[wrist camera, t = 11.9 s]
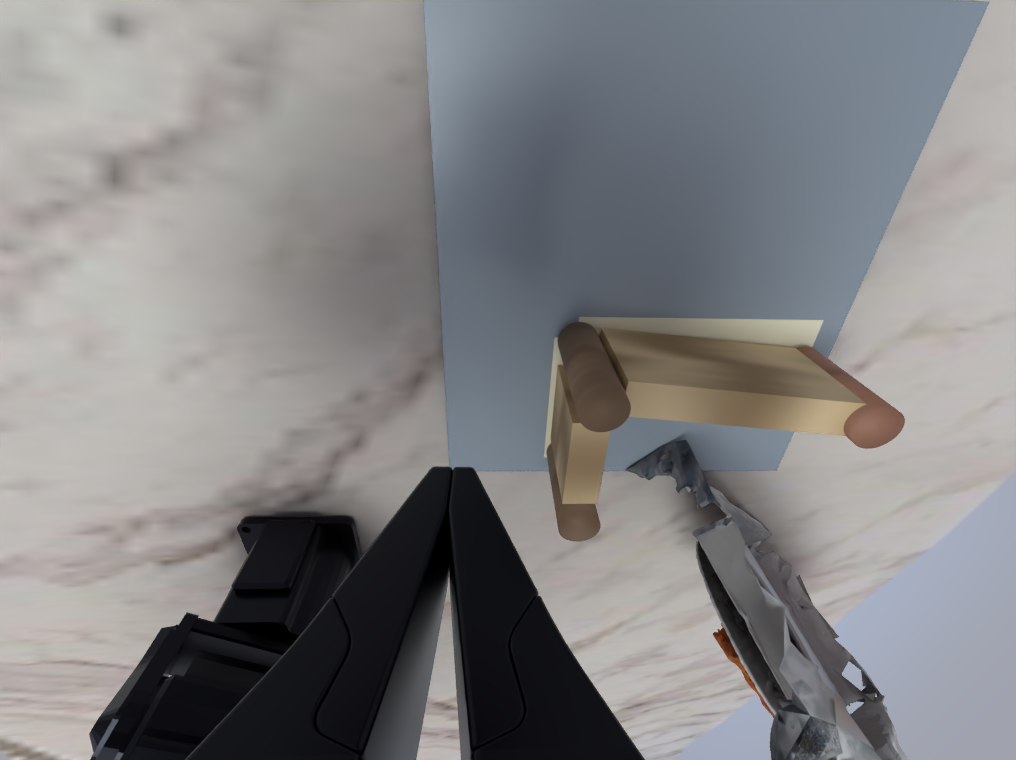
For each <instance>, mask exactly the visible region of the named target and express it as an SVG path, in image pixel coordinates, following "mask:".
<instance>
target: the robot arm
mask: <svg viewBox="0 0 1016 760" xmlns="http://www.w3.org/2000/svg"><path fill="white" fill-rule="evenodd" d="M237 530H238V532H239V535H240V537H241V539H242V542H243V544H244V546H245V549H246V551H247V554H248V556H247V558H246V560H245V562H244V563H243V565H242V567H241V569H240V571H239V573H238V574H237V576H236V578H235V580H234V582H233V583H232V588H231V590H230V592H229V594H228V596H227V598H226V599H225V601H224V603H223V605H222V607H221V609H220V610H219V612H218V614H217V616H216V618H215V620H214V621H213V622H212V621H208V620H204V619H201V618H198V615H195V614H191V613H186V615H185V616H184V618H183V619H182V621H181V622H180V624H179V625H176V626H172V627H166V628H162V629H161V630H160V632H159V633H158V635H157V636H156V638H155V640H154V641H153V643H152V644H151V646H150V647H149V649H148V651H147V652H146V654H145V655H144V657H143V658H142V660H141V661H140V663H139V664H138V666H137V667H136V669H135V670H134V671H133V673H132V674H131V675H130V677H129V678H128V679H127V681H126V682H125V683H124V685H123V686H122V688H121V689H120V690H119V692H118V693H117V694H116V696H115V697H114V698H113V700H112V701H111V702H110V704H109V705H108V706H107V708H106V709H105V710H104V712H103V713H102V714H101V716H100V717H99V719H98V720H97V722H96V723H95V725H94V727H93V728H92V730H91V732H90V734H89V735H90V739H91V744H92V748H93V752H94V754H93V755H92V757H91V759H90V760H416V757H417V751H418V746H419V740H420V735H421V729H422V724H423V718H424V713H425V707H426V702H427V696H428V691H429V685H430V680H431V674H432V669H433V663H434V657H435V652H436V646H437V641H438V635H439V630H440V624H441V619H442V613H443V608H444V602H445V597H446V591H447V585H448V578H449V575H450V598H451V613H452V628H453V643H454V659H455V674H456V689H457V704H458V720H459V735H460V750H461V760H645V759H644V757H643V756H642V755H641V753H640V752H639V750H638V749H637V748H636V746H635V745H634V743H633V742H632V740H631V739H630V738H629V736H628V735H627V733H626V732H625V730H624V729H623V727H622V726H621V724H620V723H619V721H618V720H617V719H616V717H615V716H614V714H613V713H612V711H611V710H610V708H609V707H608V705H607V704H606V702H605V701H604V700H603V698H602V697H601V695H600V694H599V692H598V691H597V689H596V688H595V686H594V685H593V683H592V682H591V681H590V679H589V678H588V676H587V675H586V673H585V672H584V670H583V669H582V667H581V666H580V664H579V662H578V661H577V659H576V658H575V656H574V655H573V653H572V652H571V650H570V648H569V647H568V645H567V644H566V642H565V641H564V639H563V637H562V635H561V634H560V632H559V630H558V628H557V626H556V625H555V623H554V621H553V619H552V617H551V616H550V614H549V612H548V610H547V608H546V606H545V604H544V602H543V600H542V598H541V597H540V596H538V591H537V589H536V587H535V585H534V583H533V581H532V580H531V578H530V576H529V574H528V572H527V570H526V568H525V566H524V564H523V562H522V560H521V558H520V556H519V554H518V553H517V551H516V549H515V547H514V545H513V543H512V541H511V539H510V537H509V535H508V533H507V531H506V529H505V527H504V525H503V524H502V522H501V520H500V518H499V516H498V514H497V512H496V510H495V508H494V506H493V504H492V502H491V500H490V498H489V496H488V495H487V493H486V491H485V489H484V487H483V485H482V483H481V481H480V479H479V477H478V475H477V473H476V471H475V470H474V468H472V467H455V468H454V469H453V470H452V468H451V467H432V468H431V469H430V470H429V471H428V473H427V474H426V475H425V477H424V478H423V479H422V480H421V482H420V483H419V484H418V486H417V487H416V488H415V489H414V491H413V492H412V493H411V495H410V496H409V497H408V498H407V500H406V501H405V502H404V504H403V505H402V506H401V507H400V509H399V510H398V511H397V513H396V514H395V515H394V516H393V518H392V519H391V520H390V522H389V523H388V524H387V525H386V527H385V528H384V529H383V531H382V532H381V533H380V534H379V536H378V537H377V538H376V540H375V541H374V542H373V543H372V545H371V546H370V547H369V549H368V550H367V551H366V552H365V554H364V555H363V556H362V555H361V550H360V546H359V541H358V537H357V532H356V528H355V524H354V522H353V521H352V520H351V519H349V518H246V519H243V520H241V522H240V524H239V525H238V527H237ZM168 675H172V676H171V677H168Z"/></svg>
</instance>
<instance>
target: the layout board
mask: <svg viewBox="0 0 1016 760" xmlns="http://www.w3.org/2000/svg"><path fill="white" fill-rule="evenodd" d="M423 2H424V20H425V37H426V55H427V73H428V91H429V109H430V126H431V144H432V162H433V180H434V198H435V215H436V233H437V251H438V269H439V287H440V304H441V322H442V340H443V358H444V376H445V393H446V411H447V429H448V447H449V465H450V467H451V468H452V470H453V469H454V468H455V467H472V468H474V470H475V471H549V467H548V460H547V454H546V451H547V448H548V446H549V445H550V444H551V428H552V418H553V407H554V397H555V386H556V376H557V366H558V365H563V362H562V358H561V355H560V351H559V348H558V336H559V334H560V332H561V331H562V330H563V329H564V328H565V327H566V326H567V325H569V324H571V323H575V322H585V323H588V324H590V325H591V326H593V327H594V328H595V330H596V332H597V334H598V336H599V335H600V331H601V327H603V328H612V329H621V330H631V331H640V332H649V333H659V334H668V335H677V336H687V337H696V338H705V339H715V340H724V341H733V342H743V343H752V344H761V345H771V346H780V347H789V348H798V347H802V346H808V347H812V348H814V349H815V350H816V351H818V352H819V353H821V354H822V355H823V356H825V357H826V358H828V356H829V354H830V352H831V350H832V347H833V345H834V343H835V341H836V339H837V336H838V334H839V332H840V330H841V328H842V325H843V323H844V321H845V319H846V317H847V314H848V312H849V310H850V308H851V306H852V303H853V301H854V299H855V297H856V295H857V292H858V290H859V288H860V286H861V284H862V281H863V279H864V277H865V275H866V273H867V270H868V268H869V266H870V264H871V262H872V259H873V257H874V255H875V253H876V251H877V248H878V246H879V244H880V242H881V240H882V237H883V235H884V233H885V231H886V229H887V226H888V224H889V222H890V220H891V218H892V215H893V213H894V211H895V209H896V207H897V204H898V202H899V200H900V198H901V196H902V193H903V191H904V189H905V187H906V185H907V182H908V180H909V178H910V176H911V174H912V171H913V169H914V167H915V165H916V163H917V160H918V158H919V156H920V154H921V152H922V149H923V147H924V145H925V143H926V140H927V138H928V136H929V134H930V132H931V129H932V127H933V125H934V123H935V121H936V118H937V116H938V114H939V112H940V110H941V107H942V105H943V103H944V101H945V99H946V96H947V94H948V92H949V90H950V88H951V85H952V83H953V81H954V79H955V77H956V74H957V72H958V70H959V68H960V66H961V63H962V61H963V59H964V57H965V55H966V52H967V50H968V48H969V46H970V44H971V41H972V39H973V37H974V35H975V33H976V30H977V28H978V26H979V24H980V22H981V19H982V17H983V15H984V13H985V11H986V8H987V6H988V4H989V2H985V1H962V0H423ZM793 433H794V431H784V430H773V429H761V428H750V427H739V426H727V425H716V424H705V423H693V422H682V421H671V420H659V419H648V418H637V417H628V419H627V420H626V421H625V422H624V423H623V424H622V425H621V426H620V427H618V428H616V429H614V430H612V431H610V436H609V442H608V447H607V452H606V458H605V463H604V469H603V471H627V470H626V469H629V468H631V467H633V466H634V465H635V464H637V463H638V462H640V461H641V460H643V459H644V458H646V457H647V456H649V455H650V454H651V453H653V452H654V451H656V450H657V449H659V448H660V447H663V446H665V445H668V444H670V443H673V442H675V441H681V440H687V442H688V443H689V445H690V447H691V449H692V451H693V454H694V456H695V458H696V460H697V462H698V464H699V466H700V468H701V470H702V471H769V470H777V468H778V466H779V464H780V462H781V460H782V457H783V455H784V453H785V451H786V449H787V446H788V444H789V442H790V440H791V438H792V435H793Z"/></svg>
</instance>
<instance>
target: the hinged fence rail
mask: <svg viewBox="0 0 1016 760" xmlns="http://www.w3.org/2000/svg"><path fill="white" fill-rule="evenodd" d="M558 348H559V351H560V355H561V358H562V362H563V365H564V369H565V372H566V376H567V380H568V383H569V387H570V390H571V394H572V397H573V401H574V404H575V408H576V411H577V415H578V418H579V421H580V423H581V424H582V425H583V426H584V427H585V428H586V429H588V430H590V431H594V432H608V431H612V430H614V429H616V428H618V427H620V426H621V425H622V424H623V423H624V422H625V421H626V420H627V419H628V417H637V418H648V419H659V420H671V421H682V422H693V423H705V424H716V425H727V426H739V427H750V428H761V429H773V430H784V431H795V432H807V433H818V434H829V435H841V436H847V437H848V438H849V439H850V440H851V441H852V442H853V443H854V444H855V445H857V446H858V447H861V448H875V447H879V446H882V445H884V444H886V443H888V442H890V441H891V440H892V439H894V438H895V437H896V436H897V435H898V434H899V433H900V432H901V430H902V428H903V426H904V423H905V419H904V416H903V414H902V413H900V412H899V411H898V410H896V409H895V408H894V407H892V406H891V405H890V404H888V403H887V402H886V401H884V400H883V399H881V398H880V397H879V396H877V395H876V394H875V393H873V392H872V391H871V390H869V389H868V388H867V387H865V386H864V385H863V384H861V383H860V382H858V381H857V380H856V379H854V378H853V377H852V376H850V375H849V374H848V373H846V372H845V371H844V370H842V369H841V368H839V367H838V366H837V365H835V364H834V363H833V362H831V361H830V360H829V359H827V358H826V357H825V356H823V355H822V354H821V353H819V352H818V351H816V350H815V349H814V348H812V347H808V346H802V347H798V348H789V347H780V346H771V345H761V344H752V343H743V342H733V341H724V340H715V339H705V338H696V337H687V336H677V335H668V334H659V333H649V332H640V331H631V330H621V329H612V328H603V327H601V331H600V335H599V336H598V334H597V332H596V330H595V328H594V327H593V326H591V325H590V324H588V323H585V322H575V323H571V324H569V325H567V326H566V327H565V328H564V329H563V330H562V331H561V332H560V334H559V336H558Z"/></svg>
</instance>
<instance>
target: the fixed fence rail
mask: <svg viewBox="0 0 1016 760" xmlns="http://www.w3.org/2000/svg"><path fill="white" fill-rule="evenodd" d="M609 436H610V431H608V432H594V431H590V430H588V429H586V428H585V427H584V426H583V425H582V424H581V423H580V421H579V418H578V415H577V411H576V408H575V404H574V401H573V397H572V394H571V390H570V387H569V383H568V380H567V376H566V372H565V369H564V365H558V366H557V376H556V386H555V397H554V407H553V418H552V428H551V444H550V445H549V446H548V448H547V451H546V454H547V460H548V467H549V473H550V479H551V485H552V492H553V498H554V504H555V510H556V517H557V523H558V529H559V533H560V535H561V536H562V537H563V538H565V539H567V540H570V541H584V540H588V539H590V538H592V537H593V536H595V535H596V534H597V533H598V531H599V530H600V521H599V517H598V513H597V510H596V506H595V504H597V502H598V496H599V491H600V485H601V480H602V474H603V469H604V463H605V458H606V452H607V447H608V442H609Z"/></svg>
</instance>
